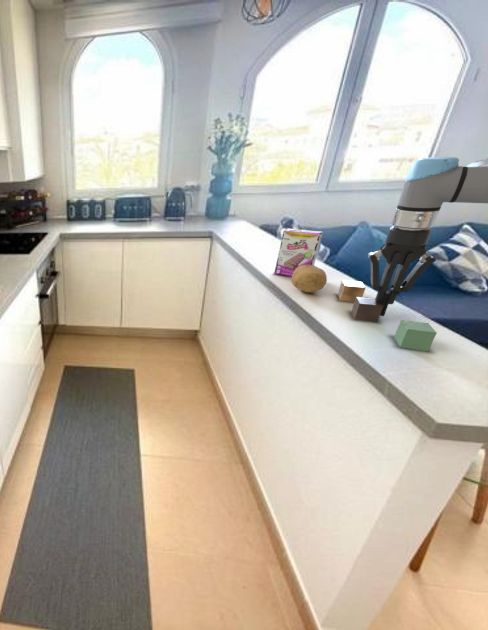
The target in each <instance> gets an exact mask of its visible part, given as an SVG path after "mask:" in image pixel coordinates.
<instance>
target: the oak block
mask: <svg viewBox="0 0 488 630" xmlns="http://www.w3.org/2000/svg"><path fill="white" fill-rule="evenodd" d="M365 291H366V286H365V284H364V283H363V281H357V280H343V279H341V281H340V285H339V287H338V292H337V297H338V299H339V301H340V302H347V303H354V301H355V298H356V297H364V294H365Z"/></svg>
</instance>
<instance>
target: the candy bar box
mask: <svg viewBox="0 0 488 630" xmlns="http://www.w3.org/2000/svg"><path fill="white" fill-rule="evenodd" d="M282 232H283V233H282V237H281V242H280V246H279V250H278V253H277V254H278V255H277V259H276V264H275V269H274V275H280V276H285V277H290V278H292V275H293V273H294V271H295V270H296V268H297V267H299V266H301V265H314V266H315V263H316V260H317V256H318V252H319V249H320V245H321V242H322V238H323V234H324V231H318V230H308V229H298V228H288V227H287V228H286V229H284V230H283V231H282Z"/></svg>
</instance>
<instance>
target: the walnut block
mask: <svg viewBox="0 0 488 630" xmlns="http://www.w3.org/2000/svg"><path fill="white" fill-rule="evenodd" d="M375 299H376V297H374V298H373V297H364V296H363V297H356V298H355V301H354V302H353V305H352V308H351V311H350V313H351V316H352V318H353V320H354V321H362V322H371V323H378V322H379V320H380V317H381V316H380V314H381V311H382V308H383V305H382V303H377V302H376V300H375Z"/></svg>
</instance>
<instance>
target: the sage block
mask: <svg viewBox="0 0 488 630" xmlns="http://www.w3.org/2000/svg"><path fill="white" fill-rule="evenodd" d="M436 335H437V331H436V330H435V329H434V328H433V326H432V325H431V324H430V323H429V322H424V321H423V322H422V321H414V320H406V319H400V321H399V324H398V326H397V329H396V331H395V334H394V336H393V338H394V340H395V342H396V343H397V345H398V347H399V348H403V349H409V350H414V351H415V350H417V351H421V352H422V351H423V352H429V350H430V348H431V346H432V344H433V342H434V339H435V337H436Z"/></svg>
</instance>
